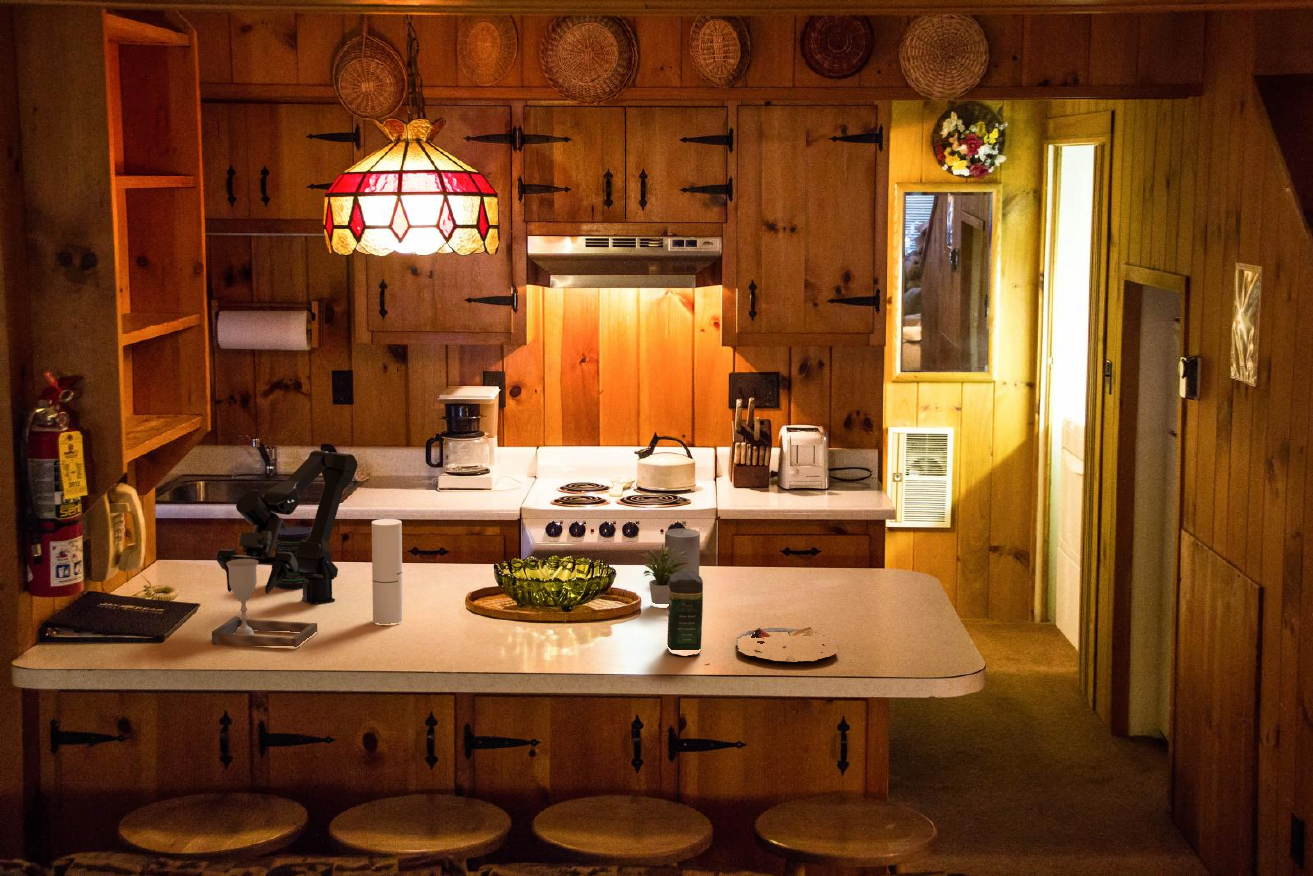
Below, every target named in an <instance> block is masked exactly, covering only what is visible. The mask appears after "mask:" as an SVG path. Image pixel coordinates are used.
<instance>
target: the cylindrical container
mask: <svg viewBox="0 0 1313 876" xmlns="http://www.w3.org/2000/svg"><path fill="white" fill-rule="evenodd" d="M402 524H403V523H402V520H400V519H394V518H380V519H376V520H375V519H374V520H372V521H371V570H372V571H371V574H372V580H371V582H372V584H371V587H372V623H373V622H374V623H379V624H391V623H399V622H401V621H402V620H404V619H403V541H402V540H403V534H402V533H403V531H402V528H403V525H402ZM374 623H373V624H374Z"/></svg>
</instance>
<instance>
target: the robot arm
mask: <svg viewBox="0 0 1313 876" xmlns="http://www.w3.org/2000/svg"><path fill="white" fill-rule="evenodd" d="M357 469H358V461H357V459H356V457H355V456H354V454H351V453H344V452H343V453H341V452H334V451H333V452H329V451H327V450H317V449H316V450H313V451H310V453H309V455H308V457H307V459H306V460H305V461H303V463H302V464H301V465H300V466H299V467H298V468H297V469H296V470H295V471H294V472H293V473H292V474H291V475H290V476H289V477H288V478H287V479H286V480H285V481H284V482H281V483H278V484H276V485H274V486H272V487H271V488H270V489H268V490H267V491H266V492H265V493H264V494H263V495H262V494H261V492H260V491H259V490H256V489H251V490H250V491H249V493H245V494H244V495H243V496H241V497H240V499H238V500H237V502H236V505H235V509H236V510H237V512H238V513H239V514H240V515H241V516H242V517H243V518H244V520H246V522H247V523H248V524H249V525H251V526H254V528H253V532H245V531H242V532H240V533H239V539H238V546H239V547H242V551H243V553H245V555H241V554H240V555H238V553H237V552H236V550H235V549H233V548H232V549H231V548H220V549H218V550H217V552H216V554H215V557H214V558H215V561H217V563H218V565H219V567H220V568H221V569H222V570H224V571H225V573H226V575H225V576H226V585H227V591H228V593H231V592H232V590H231V587H230V585H229V568H228V566H227V564H226V563H227V562H228V561H232V560H237V559H254V560H257V561H258V564H257V566H271V571H270V573H269V576H268V580H267V582H266V585H265V590H264V593H265V594H266V595H268V594H269V593H271V591H272V590H273V589H274V588H275V586H276V585H277V584H278V583H279V582H280V581H281V580H282V579H284V578H285V577H286V576H290V574H291V573H296V572H297V570H298V574H299V577H304V583H303V589H302V597H301V600H302V601H304V602H307V603H309V605H317V604H318V605H319V604H325V603H330V602H335V601H336V598H334V597H333V580H335V578H337V576H338V574H339V573H338V572H339V568H338V567H337V566H336V565H335V564H334V562H333V561H332V556H333V555H332V554H333V551H332V549H331V544H330V540H331V535H332V532H333V528H334V524H335V522H336V519H337V518H336V517H337V514H338V511H339V507H340V503H341V499H342V497H343V496H342V495H343V492H344V489H346V487H348V485H349V484H351V482H352V481H353V479H354V478H355V475H356V472H357ZM320 475H322V479H323V484H324V485H323V489H322V492H321V495H320V499H319V502H318V506H317V509H316V513H315V516H314V521H313V524H312V528H311V534H310V537H309V538H308V539H307V540H306V541H305V542H303V541H301V542H300V543H299V546H298V551H297V553H296V555H295V557H296V559H295V557H294V555H293V554H292V553H291V552H277V553H276V554H275V553H274V556H272V555H273V552H274V549H276V547H277V545H276V544H275V542H276V539H277V535H278V532H279V529H285V527H286V524H285V522H284V521H283V517H280V516H279V515H285V516H286V515H287V516H290V515H292V514H294V512H295V510H296V509H297V507H298V506H299V505H300V503H301V496H302V494H303V493H304V492H305V491H306V490H307V489H308V487H309V486H311V485H312V483H313V482H314V481H315V480H316V479H317V478H318V477H319V476H320ZM278 514H279V515H278Z"/></svg>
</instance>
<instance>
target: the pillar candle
mask: <svg viewBox="0 0 1313 876" xmlns="http://www.w3.org/2000/svg"><path fill="white" fill-rule="evenodd" d="M700 540H701V533H700V531H699V530H696V529H691V528H684V527H682V528H670V529H667V530H666V531H665V532H664V549H665V548H666V547H667V546H668V547H669V549H668V551H669V553H670V552H671V551H672V550H673V549H674V548H675V547H676V549H675V550H674V551H673V553H672V554H671V556H670V558H669V560H668V562H667V564H669V563H671V562H672V560H673V559H674V558H675V557H676V556H677V555H678V554H680V553H681V552H683V551H685V552H684V553H682V554H681V555H680V556H679V557H680V558H678V559H683V560H678V559H677V560H678V561H677V560H676V561H675V562H674V563H673V564H672V565H674V564H677V563H683V562H689V563H691V564H685V565H681V566H678V567H677V568H675V570H677V569H688V570H686V571H693V572H694V573H696V574H697V575H699V576H700V548H701V546H700V543H701V541H700ZM682 556H687V557H682ZM668 566H669V565H667V566H666V567H668ZM675 570H674V571H675ZM674 571H673V572H674ZM678 571H684V570H678ZM676 572H677V571H675V572H674V573H676ZM669 577H670V576H669Z"/></svg>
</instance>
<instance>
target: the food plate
mask: <svg viewBox="0 0 1313 876" xmlns="http://www.w3.org/2000/svg"><path fill="white" fill-rule="evenodd" d="M754 632H755V634H754ZM766 632H788V634H789V636H796V635H800V636H813V632H815V633H818V634H820V633H819V632H817V631H813V628H812V627H811V626H807V627H804V628H800V629H798V628H796V629H795V628H785V627H769V628H768V627H767V628H760V627H756V629H752V630H749V631H746V632H744V633H741V634H740V635H738V636H739V637H738V636H737V637H736V638H735V640H736V642H737V641H738V640H737V639H739V638H741V637H742V636H747V635H751V634H752V636H751V638H755V637H756V638H763V637H770V636H772V635H769V634H768V633H766ZM822 636H826V634H822ZM763 639H764V638H763ZM757 643H760V644H763V643H765V642H764V641H757ZM822 645H823V646H825V645H824V644H822ZM837 647H838V645H837ZM737 650H740V649H737ZM737 650H736V651H737ZM821 653H823V652H821Z"/></svg>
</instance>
